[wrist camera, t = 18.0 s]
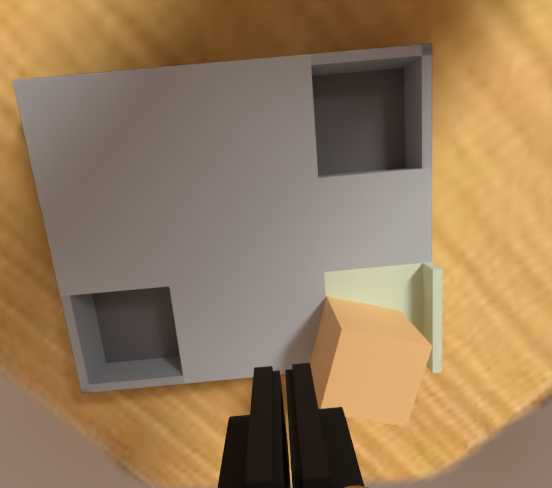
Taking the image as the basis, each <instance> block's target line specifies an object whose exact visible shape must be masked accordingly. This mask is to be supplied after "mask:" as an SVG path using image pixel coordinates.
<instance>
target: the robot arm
mask: <svg viewBox="0 0 552 488" xmlns="http://www.w3.org/2000/svg"><path fill="white" fill-rule="evenodd" d="M285 372H286V389H287V405H288V422H289V439H290V455H291V471H292V484H293V488H368V487H364V484H363V480H362V476H361V473H360V469H359V465H358V462H357V458H356V454H355V451H354V447H353V443H352V440H351V436H350V432H349V429H348V425H347V421H346V418H345V414H344V411H343V408H342V407H334V408H323V409H318V405H317V399H316V394H315V388H314V382H313V377H312V371H311V365H310V363H299V364H292V369H288V370H285ZM218 488H290V472H289V454H288V443H287V434H286V424H285V415H284V405H283V396H282V386H281V377H280V370H277V371H273V367H272V366H266V367H255V368H254V374H253V386H252V398H251V410H250V415H244V416H233V417H230V418H229V421H228V427H227V433H226V439H225V445H224V452H223V458H222V464H221V470H220V476H219V483H218Z"/></svg>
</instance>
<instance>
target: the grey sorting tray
mask: <svg viewBox="0 0 552 488" xmlns="http://www.w3.org/2000/svg"><path fill="white" fill-rule="evenodd" d="M12 82H13V86H14V91H15V95H16V100H17V104H18V109H19V113H20V118H21V122H22V127H23V131H24V136H25V140H26V145H27V149H28V154H29V158H30V163H31V167H32V172H33V176H34V181H35V185H36V190H37V194H38V199H39V203H40V208H41V212H42V217H43V221H44V226H45V230H46V235H47V239H48V244H49V248H50V253H51V257H52V262H53V266H54V271H55V275H56V280H57V284H58V289H59V293H60V298H61V302H62V307H63V311H64V316H65V320H66V325H67V329H68V334H69V338H70V343H71V347H72V352H73V356H74V361H75V365H76V370H77V374H78V379H79V383H80V388H81V392H82V393H92V392H102V391H113V390H123V389H134V388H145V387H155V386H166V385H176V384H187V383H198V382H208V381H219V380H229V379H240V378H250V377H253V374H254V368H255V367H266V366H272V367H273V371H277V370H280V375H282V374H286V372H285V370H288V369H292V364H299V363H310V359H311V355H312V351H313V348H314V344H315V340H316V336H317V332H318V328H319V324H320V320H321V316H322V312H323V308H324V304H325V300H326V296H329V297H334V298H339V299H345V300H350V301H355V302H360V303H365V304H370V305H376V306H381V307H386V308H391V309H396V310H400V311H401V312H402V313H403V314H404V316H405V317H406V318H407V319H408V320H409V321H410V322H411V323H412V324H413V325H414V326H415V328H416V329H417V330H418V331H419V332H420V333H421V334H422V335H423V336H424V337H425V338H426V340H427V341H428V342H429V343H430V344H431V345H432V349H431V352H430V356H429V359H428V362H427V367H428V368H429V369H430V371H431V372H432V373H440V372H442V287H443V268H441V267H439V266H438V265H436V264H434V263H433V262H432V43H430V44H418V45H407V46H396V47H384V48H373V49H361V50H350V51H338V52H327V53H315V54H304V55H292V56H281V57H269V58H258V59H247V60H235V61H224V62H212V63H201V64H189V65H178V66H166V67H155V68H143V69H132V70H120V71H109V72H98V73H86V74H75V75H63V76H52V77H40V78H29V79H17V80H12Z"/></svg>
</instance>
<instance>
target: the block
mask: <svg viewBox="0 0 552 488" xmlns="http://www.w3.org/2000/svg"><path fill="white" fill-rule="evenodd" d="M431 349H432V345H431V344H430V343H429V342H428V341H427V340H426V338H425V337H424V336H423V335H422V334H421V333H420V332H419V331H418V330H417V329H416V328H415V326H414V325H413V324H412V323H411V322H410V321H409V320H408V319H407V318H406V317H405V316H404V314H403V313H402V312H401V311H400V310H396V309H391V308H386V307H381V306H376V305H370V304H365V303H360V302H355V301H350V300H345V299H339V298H334V297H329V296H326V300H325V304H324V308H323V312H322V316H321V320H320V324H319V328H318V332H317V336H316V340H315V344H314V348H313V351H312V355H311V359H310V365H311V371H312V377H313V382H314V388H315V393H316V397H317V402H318V407H319V409H323V408H334V407H342V408H343V411H344V414H345V416H346V417H352V418H357V419H363V420H369V421H375V422H381V423H387V424H392V425H398V426H404V427H407V424H408V420H409V417H410V414H411V411H412V408H413V405H414V402H415V399H416V396H417V393H418V390H419V386H420V383H421V380H422V377H423V374H424V371H425V368H426V365H427V362H428V359H429V356H430V352H431Z"/></svg>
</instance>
